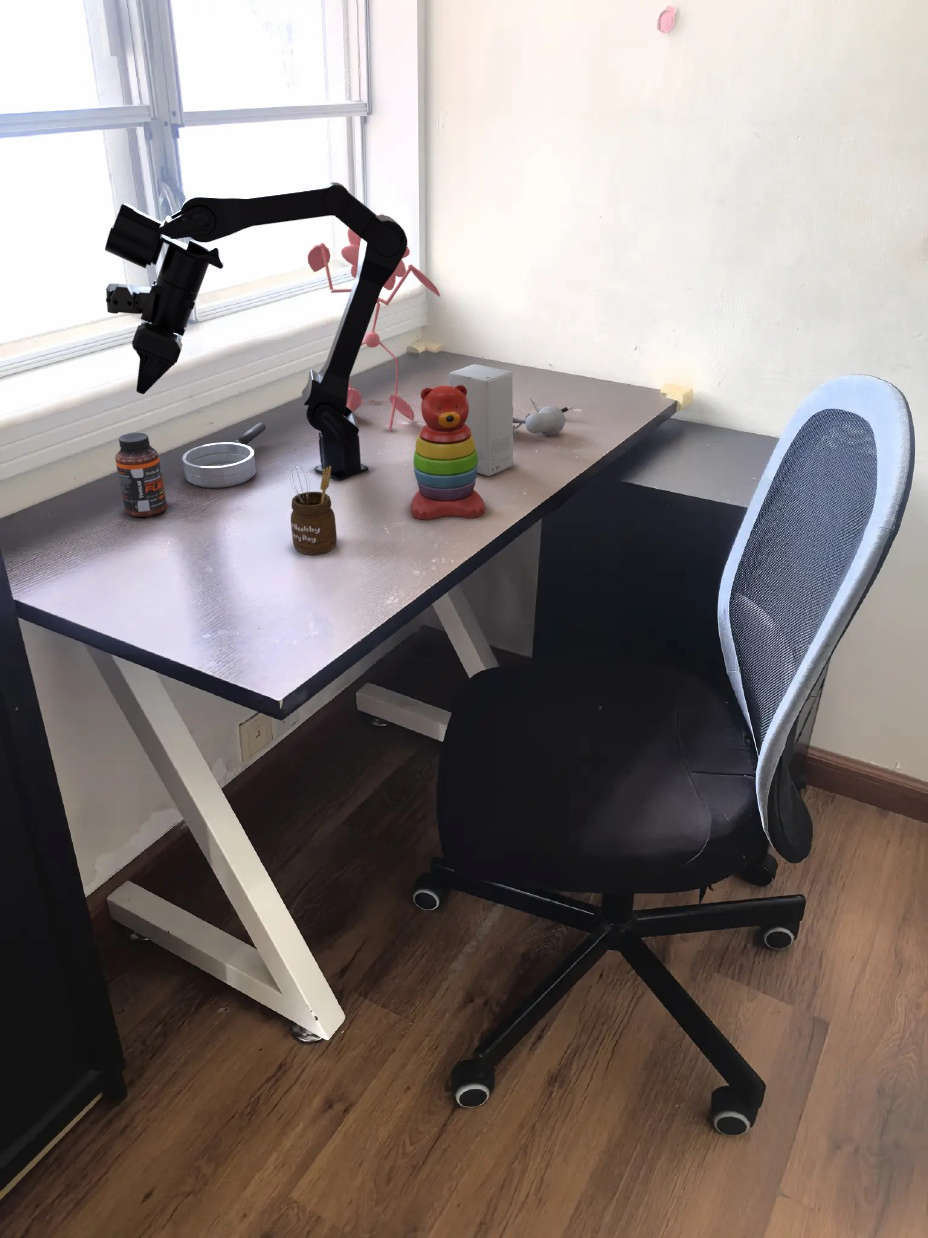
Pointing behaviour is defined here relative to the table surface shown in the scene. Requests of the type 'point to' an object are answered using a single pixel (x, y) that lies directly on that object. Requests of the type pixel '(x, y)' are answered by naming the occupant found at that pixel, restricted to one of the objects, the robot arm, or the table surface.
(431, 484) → the stacking bear
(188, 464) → the pan
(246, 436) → the pan handle
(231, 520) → the table surface
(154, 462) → the supplement bottle
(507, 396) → the cosmetic box
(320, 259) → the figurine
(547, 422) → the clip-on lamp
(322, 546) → the utensil holder
